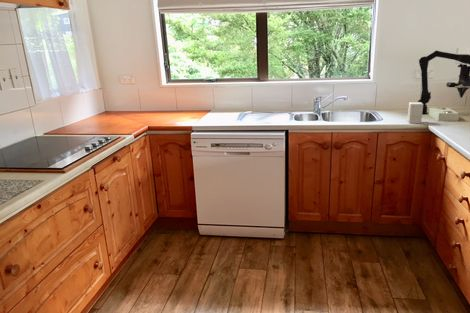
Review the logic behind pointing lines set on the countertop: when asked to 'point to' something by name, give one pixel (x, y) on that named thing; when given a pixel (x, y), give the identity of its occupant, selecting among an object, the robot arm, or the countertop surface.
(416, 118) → the supplement box
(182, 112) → the countertop surface
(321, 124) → the countertop surface
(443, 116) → the socket block
